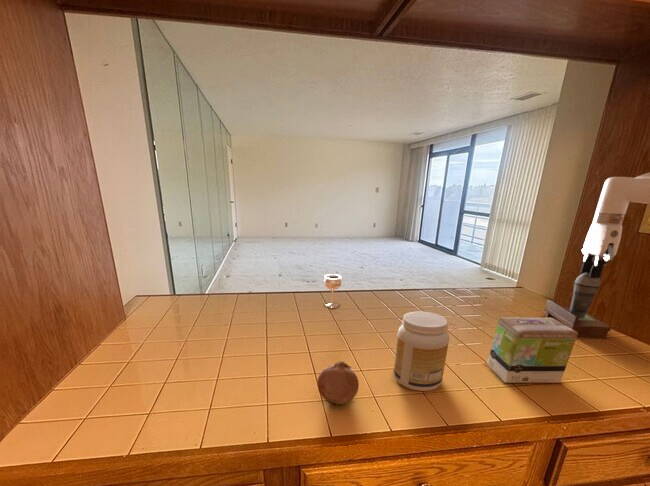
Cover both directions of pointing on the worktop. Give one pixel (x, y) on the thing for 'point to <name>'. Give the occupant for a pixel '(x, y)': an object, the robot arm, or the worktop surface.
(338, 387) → the onion
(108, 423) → the worktop surface
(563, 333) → the tea box
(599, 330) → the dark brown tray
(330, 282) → the wineglass
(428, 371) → the supplement tub
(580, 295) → the beverage cup
